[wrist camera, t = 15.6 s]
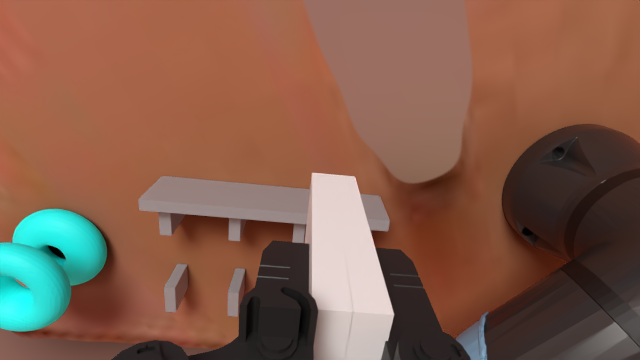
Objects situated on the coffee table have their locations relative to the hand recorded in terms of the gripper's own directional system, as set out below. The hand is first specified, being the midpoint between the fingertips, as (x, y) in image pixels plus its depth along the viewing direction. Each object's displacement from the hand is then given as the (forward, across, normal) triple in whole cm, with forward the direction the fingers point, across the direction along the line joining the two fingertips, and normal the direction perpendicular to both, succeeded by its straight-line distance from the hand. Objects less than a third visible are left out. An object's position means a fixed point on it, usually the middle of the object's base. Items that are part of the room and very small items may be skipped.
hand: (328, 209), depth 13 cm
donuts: (+27, +28, +21) cm, 44 cm away
